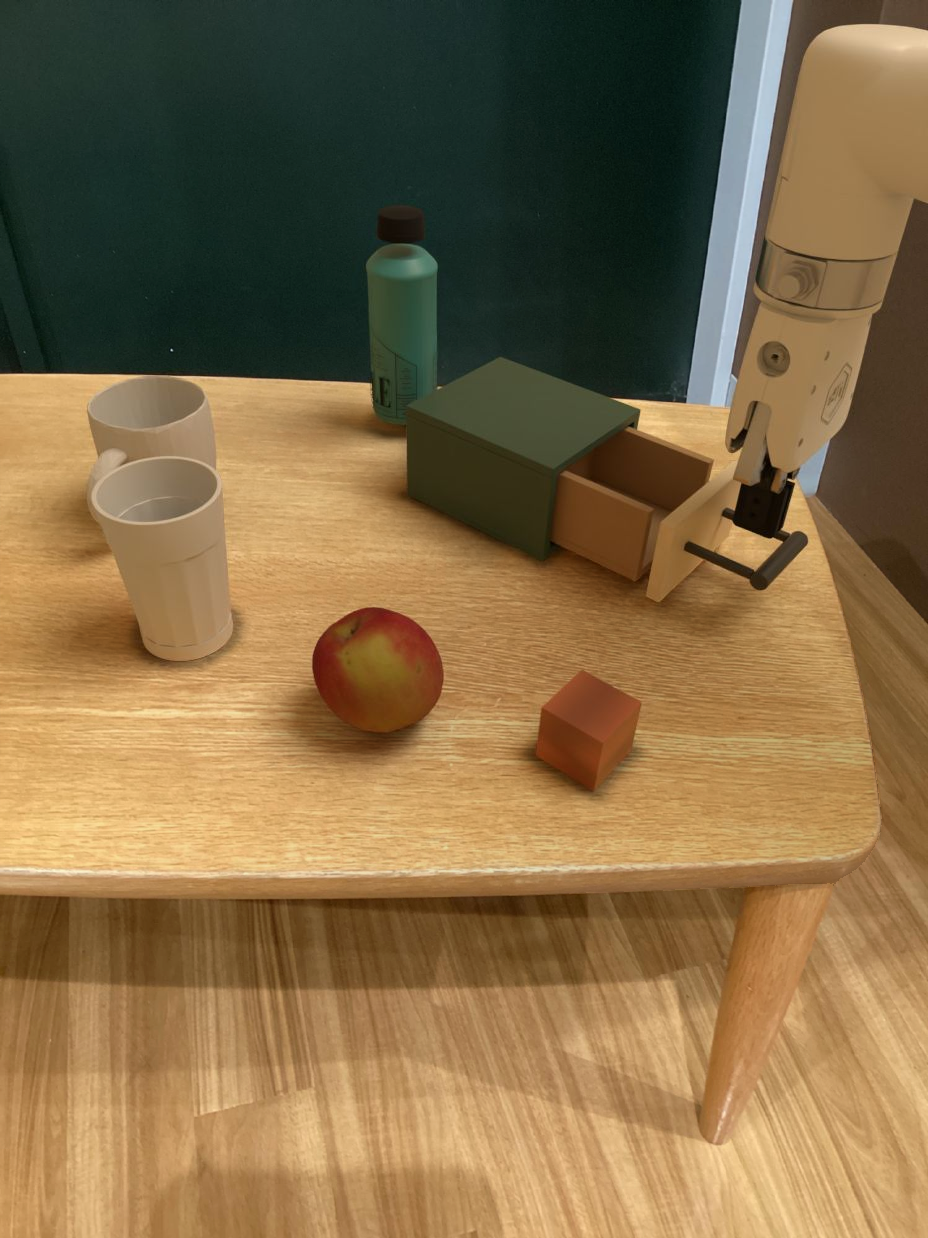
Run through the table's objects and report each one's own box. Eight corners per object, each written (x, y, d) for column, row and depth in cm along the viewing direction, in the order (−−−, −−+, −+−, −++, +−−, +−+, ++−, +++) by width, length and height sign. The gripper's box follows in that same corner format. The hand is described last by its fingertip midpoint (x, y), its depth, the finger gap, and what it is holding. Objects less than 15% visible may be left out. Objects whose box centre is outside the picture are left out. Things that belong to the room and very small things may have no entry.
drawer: (806, 570, 72) (831, 496, 68) (740, 642, 66) (763, 566, 61) (591, 477, 82) (601, 408, 77) (514, 533, 75) (520, 460, 71)
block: (631, 750, 59) (642, 702, 56) (593, 792, 56) (603, 743, 53) (574, 717, 61) (582, 669, 58) (535, 756, 58) (541, 707, 55)
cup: (263, 607, 68) (243, 467, 60) (212, 679, 62) (183, 534, 55) (166, 587, 70) (134, 447, 62) (108, 655, 64) (64, 510, 56)
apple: (388, 657, 65) (385, 566, 59) (464, 722, 60) (468, 630, 55) (296, 707, 61) (285, 614, 56) (371, 781, 56) (366, 687, 51)
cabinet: (625, 497, 81) (641, 409, 76) (542, 562, 74) (552, 468, 68) (495, 441, 88) (500, 356, 82) (406, 495, 80) (405, 405, 75)
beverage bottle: (450, 419, 91) (455, 206, 78) (412, 447, 87) (411, 227, 74) (396, 401, 94) (392, 192, 81) (356, 427, 89) (346, 211, 76)
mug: (156, 472, 82) (133, 366, 75) (244, 493, 80) (229, 386, 73) (61, 550, 73) (26, 438, 66) (159, 577, 71) (132, 463, 64)
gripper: (834, 325, 49) (759, 597, 61) (927, 254, 58) (846, 503, 69) (706, 291, 52) (659, 554, 64) (813, 229, 61) (754, 469, 73)
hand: (756, 526), depth 67 cm, fingers closed
